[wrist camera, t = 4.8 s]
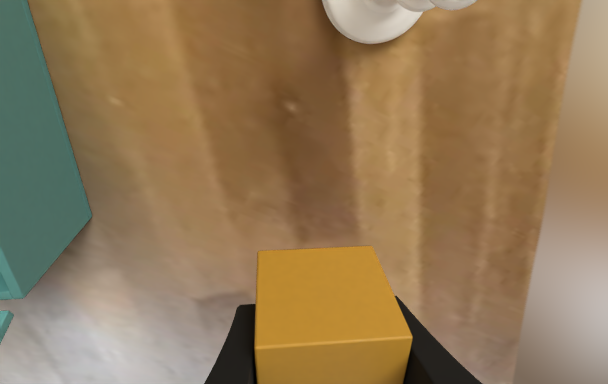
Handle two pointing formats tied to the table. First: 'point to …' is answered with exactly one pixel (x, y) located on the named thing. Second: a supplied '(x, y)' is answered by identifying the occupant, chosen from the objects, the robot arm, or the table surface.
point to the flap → (4, 322)
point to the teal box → (32, 160)
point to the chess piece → (381, 16)
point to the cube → (327, 319)
